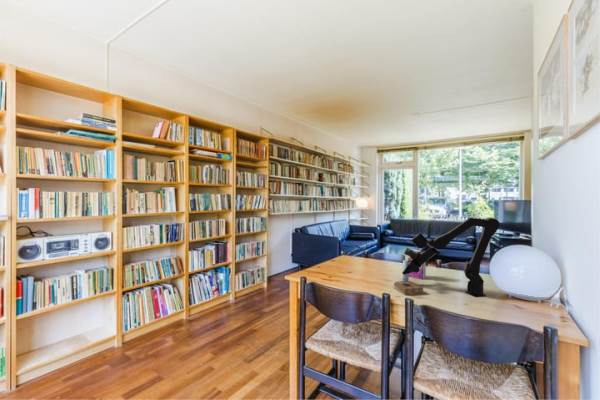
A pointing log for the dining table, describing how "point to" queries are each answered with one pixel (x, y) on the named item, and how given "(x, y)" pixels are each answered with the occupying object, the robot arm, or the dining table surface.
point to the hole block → (408, 288)
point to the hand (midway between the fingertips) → (403, 273)
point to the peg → (405, 264)
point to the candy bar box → (422, 271)
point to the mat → (409, 281)
